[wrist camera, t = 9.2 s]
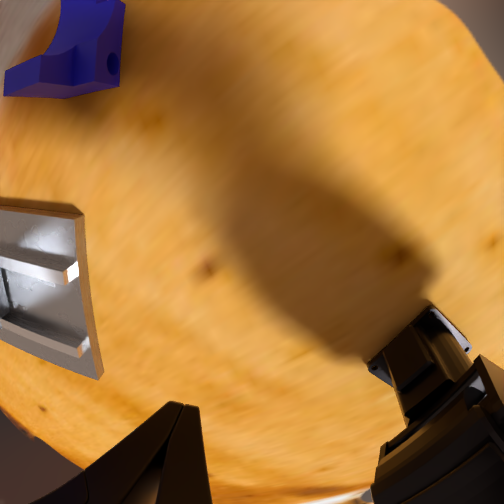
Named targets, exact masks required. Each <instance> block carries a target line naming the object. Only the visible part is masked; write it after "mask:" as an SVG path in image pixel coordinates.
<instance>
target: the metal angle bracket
mask: <svg viewBox="0 0 504 504" xmlns="http://www.w3.org/2000/svg"><path fill="white" fill-rule="evenodd" d="M9 312H10V307H9V304H8V300H7V295H6V291H5V287H4V282H3V278H2V273H1V267H0V319H1V318H3V317H4V316H5V315H6V314H8V313H9ZM1 328H2V325H1V322H0V329H1Z"/></svg>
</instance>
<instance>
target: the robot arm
mask: <svg viewBox="0 0 504 504" xmlns="http://www.w3.org/2000/svg"><path fill="white" fill-rule="evenodd" d="M430 312H432V314H431V315H429V313H430ZM466 347H467V348H466ZM465 348H466V349H465ZM471 349H472V346H471V344H470V343H469V342H468V340H467V339H466V338H465V337H464V336H463V335H462V334H461V333H460V332H459V331H458V330H457V329H456V328H455V327H454V326H453V325H452V324H451V323H450V322H449V321H448V320H447V319H446V318H445V317H444V316H443V315H442V314H441V313H440V312H439V311H438V310H437V309H436V308H435V307H434V306H428V307H427V308H425V310H424V311H423V312H422V313H421V314H420V315H419V316H418V317H417V318H416V319H415V320H414V321H413V322H412V323H411V324H410V325H409V326H408V327H407V328H405V329H404V330H403V331H402V332H401V333H400V334H399V335H398V336H397V337H396V338H395V339H394V340H393V341H392V342H391V343H390V344H389V345H387V346H386V347H385V348H384V349H383V350H382V351H381V352H380V353H379V354H377V355H376V356H375V357H374V358H373V359H372V360H371V361H369V363H368V364H367V367H368V371H369V372H370V373H372V374H373V375H375V376H376V377H378V378H379V379H381V380H382V381H384V382H385V383H387V384H389V385H390V386H392V387H393V388H394V390H395V393H396V396H397V399H398V402H399V405H400V408H401V411H402V415H403V418H404V421H405V424H406V429H404V430H403V431H402V432H401V433H399V434H398V435H397V436H396V437H394V438H393V439H392V440H391V441H389V442H386V443H385V444H383V445H382V446H381V448H380V455H379V461H378V466H377V468H376V472H375V480H374V483H372V484H371V487H370V490H371V496H372V500H373V503H374V504H504V370H503V369H502V368H500V367H499V366H497V365H496V364H494V363H493V362H491V361H490V360H488V359H487V358H485V357H484V356H482V355H481V354H479V355H478V357H477V358H476V359H475V360H474V361H473V362H474V363H472V362H471V360H470V359H469V357H468V356H467V354H468V353H469V352H470V351H471ZM374 365H376V366H375V367H373V366H374ZM29 504H213V503H212V497H211V491H210V484H209V478H208V471H207V465H206V457H205V450H204V443H203V435H202V427H201V418H200V410H199V407H198V406H193V405H189V404H185V405H184V404H183V403H180V402H175V401H169V402H167V403H166V404H165V405H164V406H163V407H161V408H160V409H159V410H158V411H157V412H155V413H154V414H153V415H152V416H151V417H150V418H148V419H147V420H146V421H145V422H144V423H142V424H141V425H140V426H139V427H137V428H136V429H135V430H134V431H133V432H131V433H130V434H129V435H128V436H126V437H125V438H124V439H123V440H121V441H120V442H119V443H118V444H116V445H115V446H114V447H113V448H111V449H110V450H109V451H108V452H106V453H105V454H104V455H103V456H101V457H100V458H99V459H97V460H96V461H95V462H94V463H92V464H91V465H90V466H88V467H87V468H86V469H85V471H82V472H80V473H79V474H78V475H76V476H75V477H74V478H72V479H71V480H70V481H68V482H67V483H65V484H64V485H62V486H61V487H59V488H57V489H55V490H54V491H52V492H50V493H48V494H47V495H45V496H43V497H41V498H39V499H37V500H35V501H33V502H31V503H29Z"/></svg>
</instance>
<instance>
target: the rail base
mask: <svg viewBox="0 0 504 504" xmlns="http://www.w3.org/2000/svg"><path fill="white" fill-rule="evenodd" d="M0 267H1V273H2V278H3V282H4V287H5V291H6V295H7V300H8V304H9V307H10V312H9V313H8V314H6V315H5V316H4V317H3V318H1V319H0V322H1V325H2V328H1V329H0V340H2V341H4V342H6V343H8V344H10V345H13V346H15V347H17V348H19V349H21V350H23V351H25V352H27V353H30V354H32V355H34V356H36V357H39V358H41V359H43V360H46V361H48V362H51V363H53V364H55V365H58V366H60V367H63V368H65V369H68V370H71V371H73V372H76V373H79V374H81V375H84V376H87V377H90V378H93V379H95V380H99V379H100V377H101V376H102V375H103V373H104V369H103V364H102V359H101V355H100V349H99V344H98V339H97V333H96V327H95V321H94V315H93V308H92V301H91V293H90V285H89V276H88V266H87V255H86V241H85V223H84V215H80V214H72V213H63V212H55V211H47V210H38V209H30V208H21V207H13V206H4V205H0Z"/></svg>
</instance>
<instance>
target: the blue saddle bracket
mask: <svg viewBox="0 0 504 504" xmlns="http://www.w3.org/2000/svg"><path fill="white" fill-rule="evenodd" d="M124 13H125V4H124V3H123V2H121V1H120V0H61V13H60V20H59V24H58V28H57V31H56V34H55V37H54V39H53V41H52V43H51V44H50V46H49V48H48V49H47V51H46V52H45V53H44V54H43V55H39V56H37V57H34V58H32V59H30V60H27V61H25V62H23V63H21V64H19V65H16V66H14V67H12V68H10V69H8V70H6V71H5V79H4V94H3V96H14V97H43V98H59V99H66V98H70V97H74V96H78V95H82V94H86V93H91V92H95V91H100V90H105V89H110V88H115V87H119V83H120V60H121V45H122V33H123V22H124Z"/></svg>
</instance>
